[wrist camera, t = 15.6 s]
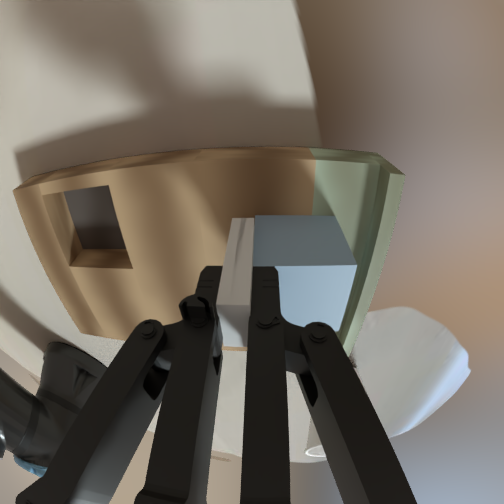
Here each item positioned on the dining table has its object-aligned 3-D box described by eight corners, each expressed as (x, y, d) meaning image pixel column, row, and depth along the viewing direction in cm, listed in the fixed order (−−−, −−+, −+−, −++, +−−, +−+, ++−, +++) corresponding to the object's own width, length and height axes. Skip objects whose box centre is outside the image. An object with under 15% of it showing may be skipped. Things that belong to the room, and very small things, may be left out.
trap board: (90, 314, 29) (76, 342, 25) (32, 176, 18) (1, 198, 14) (339, 326, 27) (346, 361, 23) (377, 153, 17) (405, 175, 13)
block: (256, 277, 20) (254, 333, 15) (255, 215, 17) (252, 266, 13) (325, 277, 19) (338, 331, 15) (335, 215, 16) (357, 265, 12)
